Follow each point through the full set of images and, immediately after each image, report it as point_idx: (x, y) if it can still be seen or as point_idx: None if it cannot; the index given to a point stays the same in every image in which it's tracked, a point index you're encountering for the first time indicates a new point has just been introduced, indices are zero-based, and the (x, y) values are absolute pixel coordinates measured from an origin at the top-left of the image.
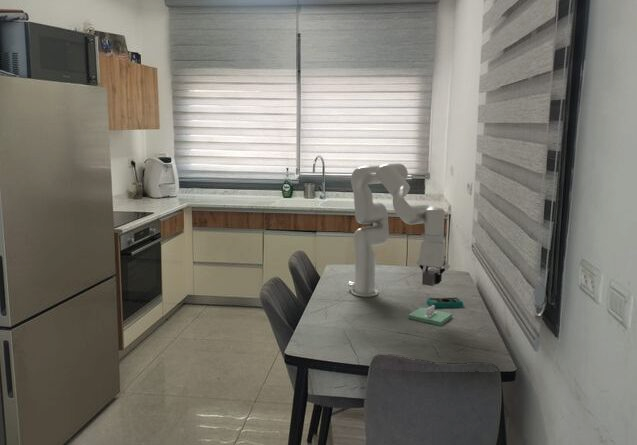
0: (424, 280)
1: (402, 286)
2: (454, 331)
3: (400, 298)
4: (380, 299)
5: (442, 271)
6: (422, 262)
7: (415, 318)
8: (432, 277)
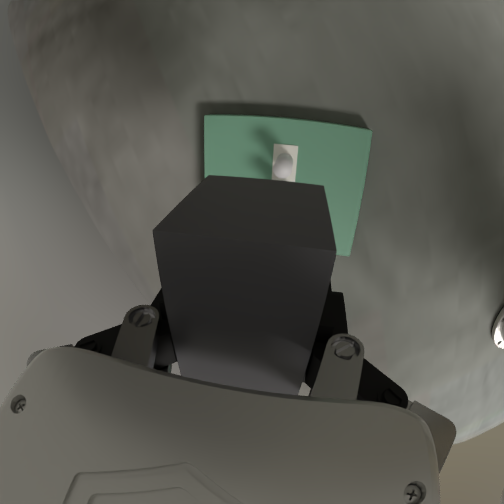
0: (297, 198)
1: (424, 398)
2: (143, 92)
3: (432, 328)
4: (489, 290)
5: (99, 336)
6: (374, 447)
7: (333, 123)
8: (174, 210)
